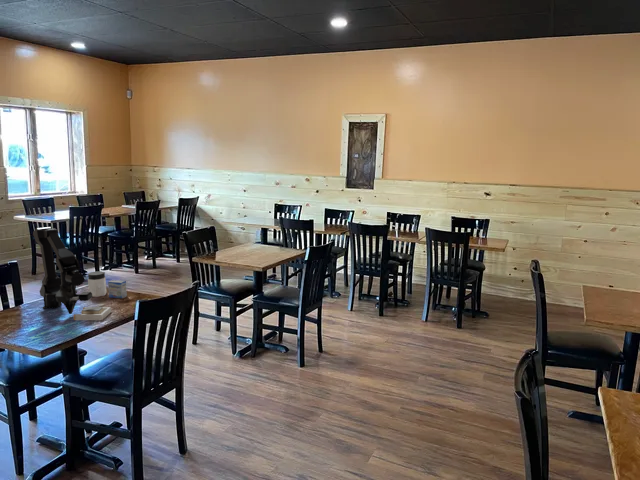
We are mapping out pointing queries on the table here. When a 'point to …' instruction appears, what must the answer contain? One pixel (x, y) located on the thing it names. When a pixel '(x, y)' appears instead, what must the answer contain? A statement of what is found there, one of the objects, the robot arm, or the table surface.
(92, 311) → the grey beige block
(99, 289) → the jar
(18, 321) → the table surface
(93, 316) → the frame
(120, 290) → the medicine box
